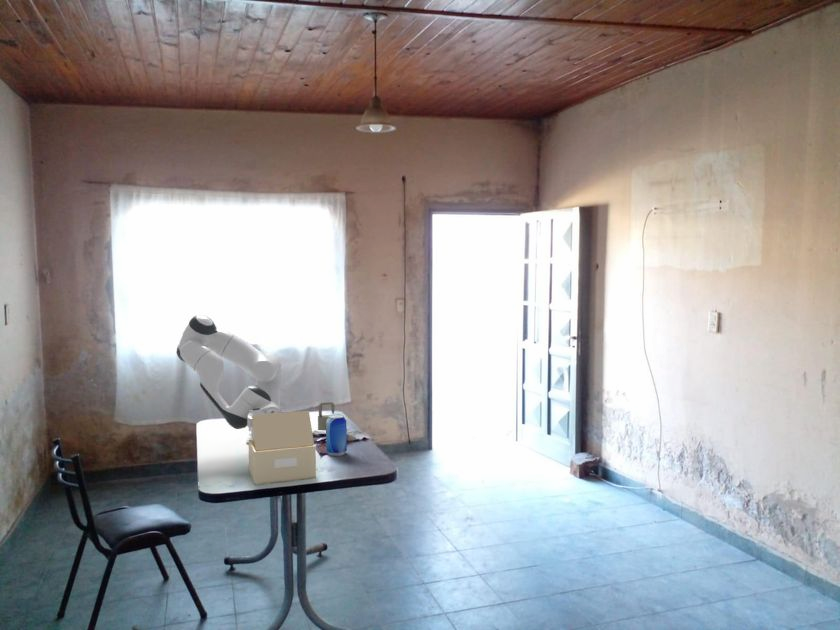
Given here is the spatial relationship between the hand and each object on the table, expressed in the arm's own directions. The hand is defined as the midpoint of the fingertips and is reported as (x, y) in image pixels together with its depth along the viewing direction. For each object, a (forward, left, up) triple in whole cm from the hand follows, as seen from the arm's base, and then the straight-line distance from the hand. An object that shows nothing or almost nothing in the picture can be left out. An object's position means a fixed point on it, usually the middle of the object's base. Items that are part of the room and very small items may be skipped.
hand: (276, 424), depth 251 cm
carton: (+3, +1, -19) cm, 19 cm away
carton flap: (+7, +1, -1) cm, 7 cm away
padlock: (-52, +31, -19) cm, 63 cm away
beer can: (-17, +27, -19) cm, 37 cm away
